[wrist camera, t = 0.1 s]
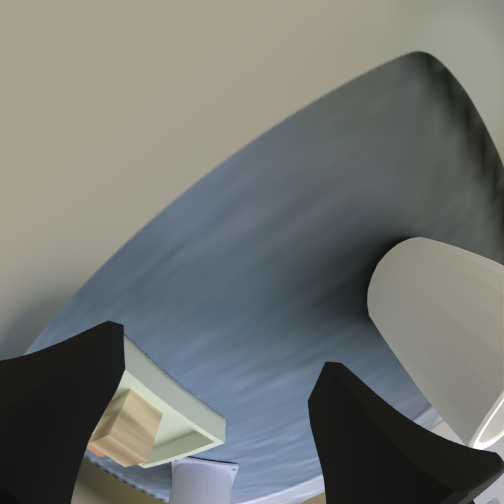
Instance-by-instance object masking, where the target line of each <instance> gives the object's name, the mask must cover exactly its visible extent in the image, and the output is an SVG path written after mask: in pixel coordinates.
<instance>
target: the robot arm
mask: <svg viewBox="0 0 504 504" xmlns="http://www.w3.org/2000/svg"><path fill="white" fill-rule="evenodd" d="M124 371H125V353H124V325H122V324H118V323H115V322H112V321H106V322H104V323H101V324H99V325H97V326H95V327H93V328H91V329H88V330H86V331H84V332H82V333H80V334H78V335H76V336H73V337H71V338H69V339H67V340H65V341H62V342H60V343H57V344H55V345H52V346H50V347H47V348H45V349H42V350H40V351H37V352H34V353H31V354H28V355H24V356H20V357H17V358H13V359H7V360H2V361H0V504H71V499H72V495H73V490H74V486H75V482H76V478H77V475H78V471H79V468H80V465H81V462H82V459H83V456H84V453H85V450H86V448H87V445H88V442H89V440H90V438H91V436H92V434H93V432H94V430H95V428H96V426H97V425H98V423H99V421H100V419H101V417H102V416H103V414H104V412H105V410H106V409H107V407H108V405H109V403H110V401H111V400H112V398H113V396H114V394H115V393H116V391H117V389H118V386H119V384H120V381H121V379H122V376H123V374H124ZM308 408H309V418H310V425H311V429H312V433H313V437H314V441H315V445H316V449H317V452H318V456H319V460H320V464H321V468H322V472H323V477H324V485H325V494H326V504H475V503H474V501H473V499H475V498H476V497H477V496H478V495H480V494H481V493H482V492H483V491H484V490H485V489H487V488H488V487H489V486H490V485H491V484H493V483H494V482H495V481H496V480H497V479H498V478H499V477H500V476H501V475H502V474H503V473H504V461H503V460H502V459H501V457H500V456H499V455H498V454H497V453H496V452H490V451H484V450H479V449H475V448H471V447H467V446H464V445H461V444H458V443H455V442H452V441H450V440H447V439H445V438H443V437H441V436H438V435H436V434H434V433H432V432H430V431H428V430H426V429H425V428H423V427H421V426H420V425H418V424H416V423H415V422H413V421H411V420H410V419H408V418H407V417H405V416H404V415H402V414H401V413H400V412H398V411H397V410H396V409H394V408H393V407H392V406H390V405H389V404H388V403H387V402H385V401H384V400H383V399H382V398H381V397H379V396H378V395H377V394H376V393H375V392H374V391H373V390H371V389H370V388H369V387H368V386H367V385H366V384H365V383H364V382H362V381H361V380H360V379H359V378H358V377H357V376H356V375H355V374H354V373H352V372H351V371H350V370H349V369H348V368H347V367H345V366H344V365H343V364H342V363H337V362H325V364H324V367H323V369H322V371H321V373H320V376H319V378H318V380H317V382H316V384H315V387H314V389H313V391H312V393H311V395H310V397H309V399H308ZM171 465H172V479H173V481H172V487H171V492H170V497H169V502H168V504H231V487H232V484H233V482H234V479H235V476H236V474H237V471H238V468H239V465H237V464H231V463H222V462H215V461H207V460H201V459H195V458H190V457H184V458H181V459H177V460H174V461H171ZM487 504H500V503H499V501H498V499H497V498H494V499H493V500H491V501H490V502H488V503H487Z"/></svg>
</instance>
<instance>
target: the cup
mask: <svg viewBox="0 0 504 504" xmlns="http://www.w3.org/2000/svg"><path fill="white" fill-rule="evenodd" d="M367 306H368V312H369V316H370V317H371V319H372V321H373V322H374V324H375V325H376V327H377V329H378V330H379V332H380V333H381V335H382V336H383V338H384V339H385V341H386V342H387V344H388V345H389V347H390V348H391V350H392V351H393V353H394V354H395V356H396V357H397V358H398V360H399V361H400V363H401V364H402V365H403V367H404V368H405V370H406V371H407V373H408V374H409V375H410V377H411V378H412V379H413V381H414V382H415V384H416V385H417V386H418V388H419V389H420V390H421V392H422V393H423V395H424V396H425V397H426V398H427V400H428V401H429V402H430V403H431V405H432V406H433V407H434V408H435V410H436V411H437V412H438V413H439V415H440V416H441V417H442V418H443V420H444V421H445V422H446V423H447V424H448V426H449V427H450V428H451V429H452V430H453V431H454V432H455V433H456V435H457V436H458V437H459V438H460V439H461V440H462V441H463V443H464V444H465V445H466V446H467V447H471V448H475V449H479V450H482V449H484V448H486V447H488V446H490V445H491V444H493V443H494V442H496V441H497V440H498V439H499V438H500V437H502V436H503V435H504V265H501V264H499V263H497V262H494V261H492V260H490V259H487V258H485V257H482V256H480V255H477V254H474V253H472V252H469V251H466V250H463V249H461V248H458V247H455V246H452V245H448V244H445V243H442V242H438V241H435V240H431V239H427V238H423V237H416V238H410V239H408V240H405V241H403V242H401V243H398V244H397V245H396V246H395V247H393V248H392V249H391V250H390V251H388V252H387V254H386V255H385V256H384V257H383V258H382V259H381V260H380V262H379V263H378V265H377V267H376V269H375V271H374V273H373V275H372V278H371V281H370V285H369V288H368V297H367Z"/></svg>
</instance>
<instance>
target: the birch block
mask: <svg viewBox="0 0 504 504" xmlns="http://www.w3.org/2000/svg"><path fill="white" fill-rule="evenodd" d="M162 415H163V414H162V413H161V412H160V411H158V410H157V409H156V408H154V407H153V406H152V405H150V404H149V403H148V402H147V401H145V400H144V399H143V398H142V397H140V396H139V395H138V394H137V393H136V392H134V391H133V390H132V389H130V390H128V391H127V392H125V393H123V394H122V395H120V396H119V397H117V398H115V399H114V400H112V401H111V402H110V404H109V406H108V407H107V409H106V411H105V413H104V415H103V417H102V419H101V421H100V423H99V425H98V427H97V429H96V431H95V433H94V435H93V437H92V439H91V441H90V444H91V445H93V446H94V447H95V448H97V449H98V450H100V451H101V452H102V453H104V454H105V455H107V456H108V457H110V458H111V459H113V460H114V461H116V462H117V463H119V464H121V465H122V466H124V467H128V466H132V465H136V464H140V463H144V462H147V461H149V458H150V455H151V451H152V448H153V445H154V441H155V438H156V435H157V431H158V428H159V425H160V422H161V418H162Z"/></svg>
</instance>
